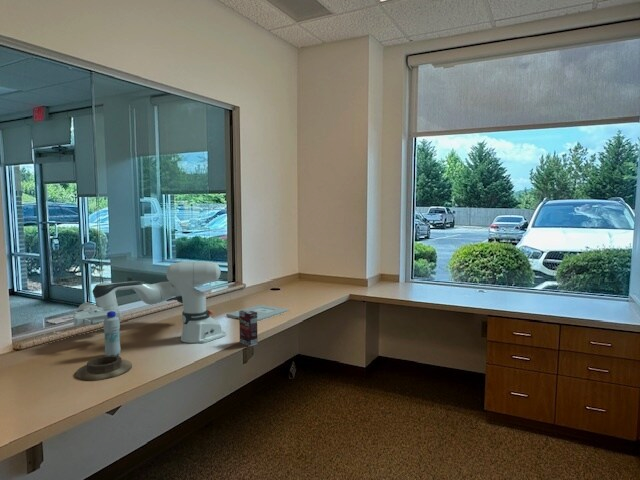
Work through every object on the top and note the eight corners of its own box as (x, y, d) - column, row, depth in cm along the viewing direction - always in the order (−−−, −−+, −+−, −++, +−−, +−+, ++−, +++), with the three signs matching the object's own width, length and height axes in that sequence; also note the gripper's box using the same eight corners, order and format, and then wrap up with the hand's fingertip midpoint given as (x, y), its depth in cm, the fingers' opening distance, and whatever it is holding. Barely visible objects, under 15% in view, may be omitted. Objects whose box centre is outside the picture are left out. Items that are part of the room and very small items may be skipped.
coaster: (122, 357, 182) (121, 349, 181) (139, 370, 167) (138, 361, 167) (70, 370, 168) (69, 360, 168) (83, 385, 154) (83, 374, 153)
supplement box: (239, 342, 202) (238, 310, 201) (247, 340, 206) (246, 309, 204) (250, 346, 196) (249, 313, 195) (258, 344, 200) (257, 311, 198)
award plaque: (226, 317, 251) (226, 313, 251) (260, 307, 276) (260, 304, 276) (256, 323, 237) (256, 320, 237) (289, 313, 262) (289, 309, 262)
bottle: (123, 352, 188) (122, 309, 187) (117, 358, 181) (115, 313, 180) (108, 353, 188) (107, 309, 186) (101, 358, 181) (99, 313, 180)
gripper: (116, 317, 210) (126, 323, 200) (70, 325, 196) (78, 331, 186) (116, 305, 210) (125, 310, 200) (70, 312, 196) (77, 317, 186)
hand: (102, 320), depth 193 cm, fingers open, 8 cm apart
